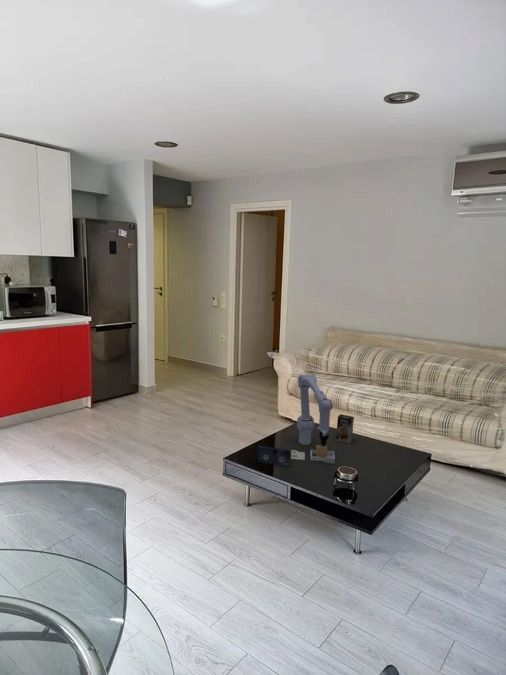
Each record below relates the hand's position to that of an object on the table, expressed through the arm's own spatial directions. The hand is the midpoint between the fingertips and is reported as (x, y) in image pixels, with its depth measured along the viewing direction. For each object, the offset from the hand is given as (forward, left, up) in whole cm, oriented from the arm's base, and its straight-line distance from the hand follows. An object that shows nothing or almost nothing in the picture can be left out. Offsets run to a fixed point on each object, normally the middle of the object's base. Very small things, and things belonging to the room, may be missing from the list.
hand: (323, 443), depth 259 cm
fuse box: (0, -19, -10) cm, 21 cm away
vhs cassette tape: (+13, -27, -10) cm, 32 cm away
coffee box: (-30, +15, -10) cm, 35 cm away
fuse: (0, 0, -9) cm, 9 cm away
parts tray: (0, 0, -10) cm, 10 cm away
